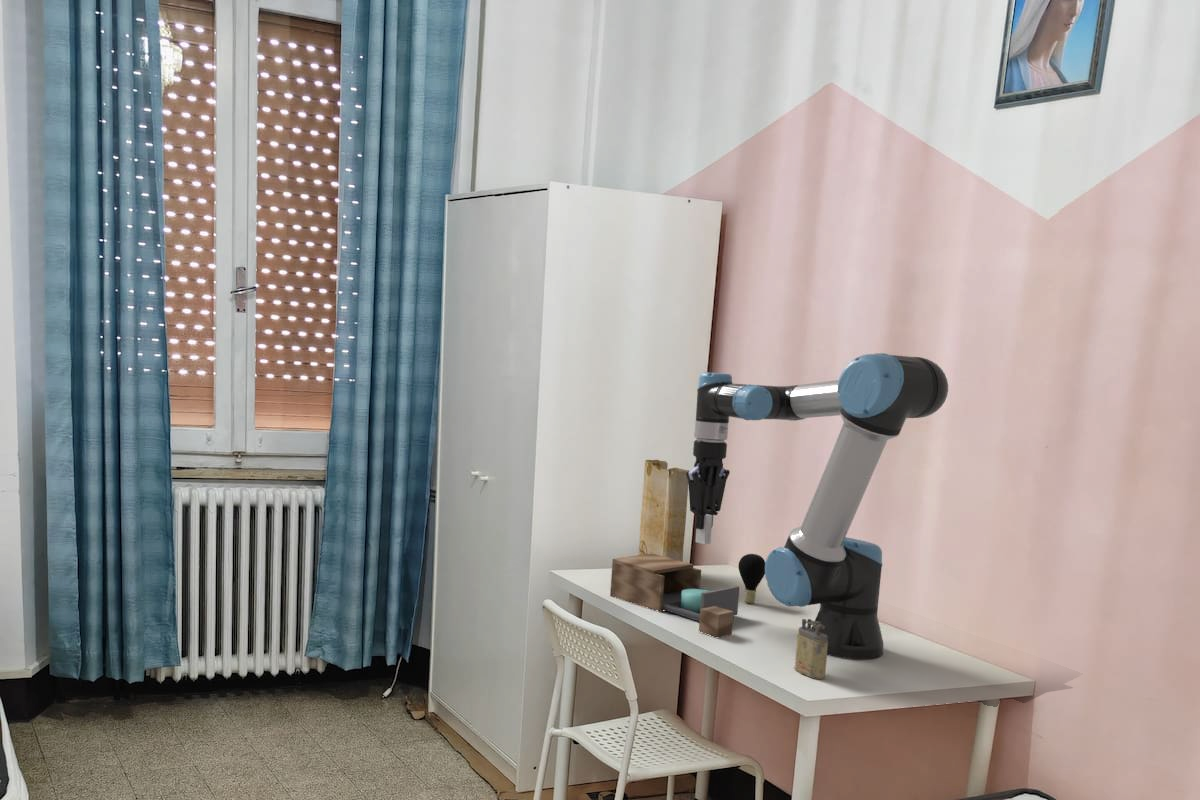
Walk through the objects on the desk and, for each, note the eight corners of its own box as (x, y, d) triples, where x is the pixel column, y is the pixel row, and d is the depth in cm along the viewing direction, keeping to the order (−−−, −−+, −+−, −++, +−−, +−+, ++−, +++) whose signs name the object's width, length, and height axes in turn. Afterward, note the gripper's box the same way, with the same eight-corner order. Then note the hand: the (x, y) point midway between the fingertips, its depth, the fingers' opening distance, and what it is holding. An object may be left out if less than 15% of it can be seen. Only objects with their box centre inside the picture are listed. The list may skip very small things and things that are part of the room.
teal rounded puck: (695, 601, 230) (696, 587, 230) (722, 609, 225) (723, 594, 224) (673, 606, 224) (674, 591, 224) (700, 614, 219) (701, 599, 219)
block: (731, 634, 209) (733, 611, 209) (716, 638, 206) (718, 614, 206) (713, 628, 213) (715, 605, 213) (698, 632, 209) (700, 609, 209)
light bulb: (755, 608, 233) (759, 558, 232) (730, 602, 237) (734, 553, 236) (768, 603, 238) (772, 555, 238) (743, 598, 242) (747, 550, 242)
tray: (737, 614, 224) (739, 586, 224) (702, 622, 215) (704, 593, 215) (678, 597, 237) (680, 570, 237) (643, 603, 228) (645, 576, 228)
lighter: (829, 678, 184) (833, 626, 184) (813, 680, 183) (817, 628, 182) (804, 666, 191) (808, 616, 190) (789, 668, 189) (793, 617, 188)
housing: (698, 603, 233) (701, 566, 233) (659, 611, 224) (662, 573, 223) (649, 588, 245) (652, 553, 244) (610, 595, 235) (612, 558, 235)
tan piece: (634, 566, 269) (642, 458, 268) (656, 566, 271) (664, 459, 269) (659, 587, 247) (668, 469, 245) (682, 588, 248) (691, 470, 246)
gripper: (704, 442, 215) (696, 548, 216) (742, 441, 225) (734, 543, 226) (678, 438, 220) (670, 542, 222) (716, 438, 230) (709, 537, 231)
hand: (702, 542), depth 224 cm, fingers closed
